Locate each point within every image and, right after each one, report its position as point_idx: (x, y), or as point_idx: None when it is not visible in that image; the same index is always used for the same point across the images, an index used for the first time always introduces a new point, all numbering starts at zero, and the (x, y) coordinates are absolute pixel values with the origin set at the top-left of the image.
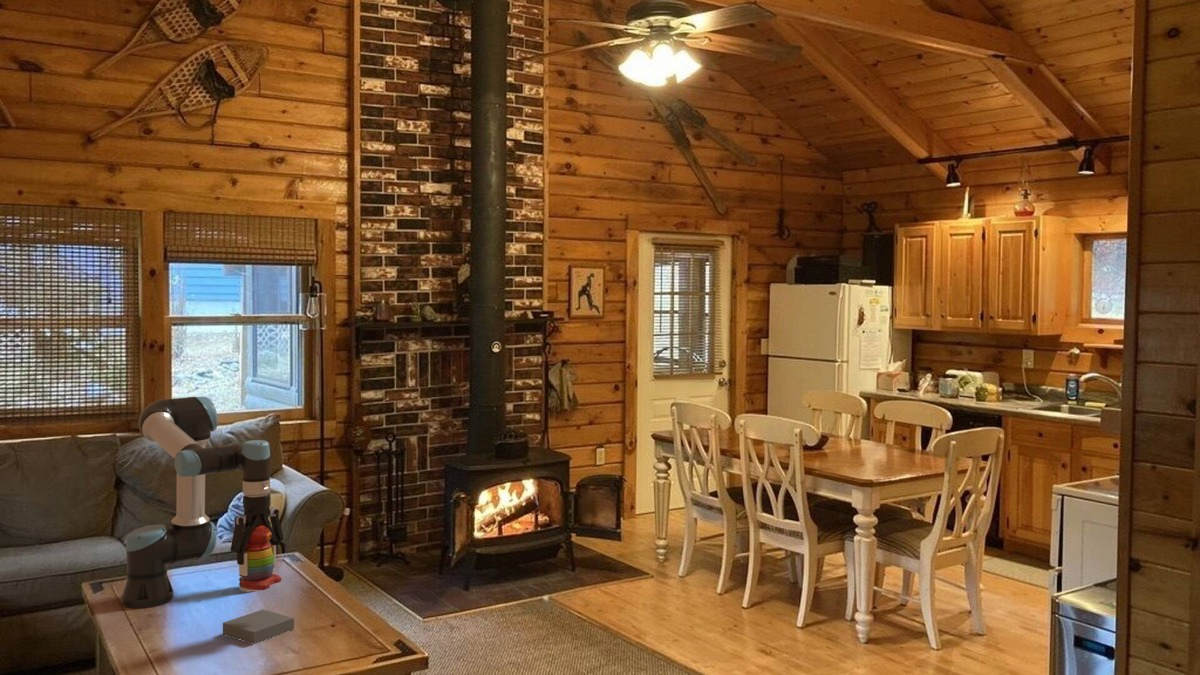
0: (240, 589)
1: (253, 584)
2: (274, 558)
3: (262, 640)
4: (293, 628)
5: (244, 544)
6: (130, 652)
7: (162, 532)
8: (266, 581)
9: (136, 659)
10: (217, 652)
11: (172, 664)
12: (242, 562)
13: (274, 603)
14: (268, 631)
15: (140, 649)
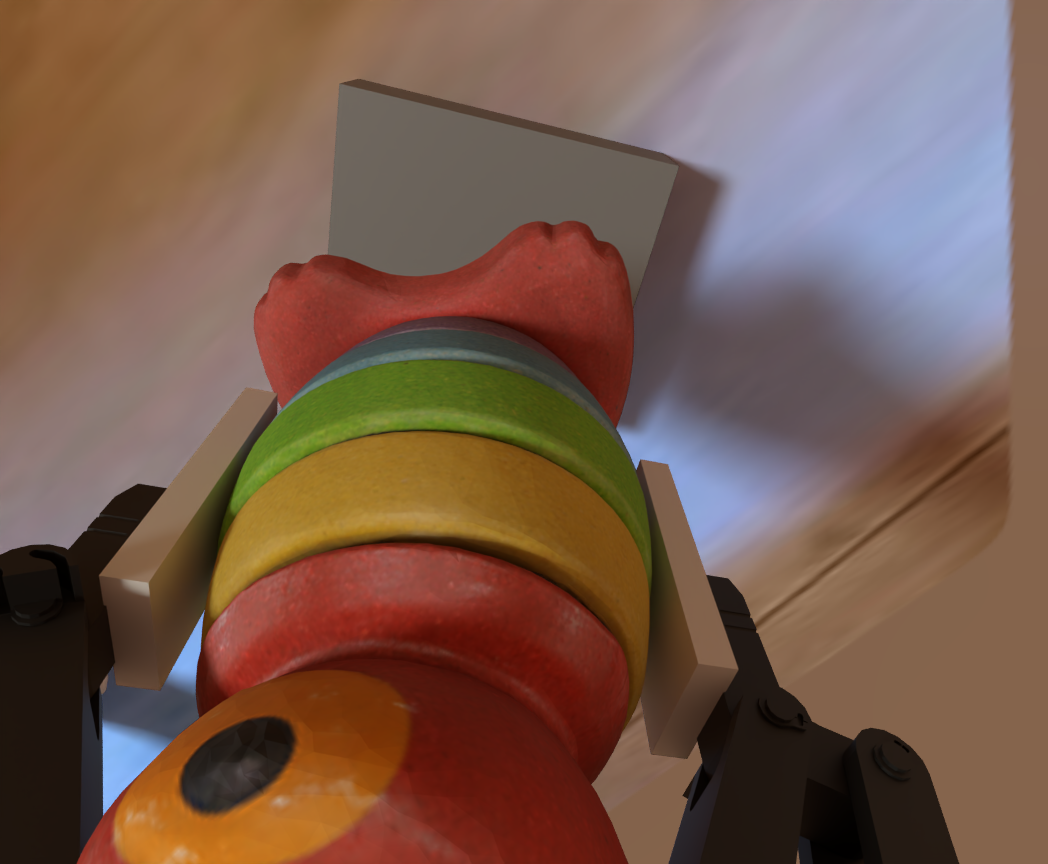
0: (104, 689)
1: (626, 353)
2: (227, 452)
3: (604, 140)
4: (361, 80)
5: (789, 827)
6: (866, 591)
7: None
8: (520, 282)
9: (940, 527)
10: (815, 269)
11: (996, 361)
12: (712, 593)
13: (113, 476)
14: (562, 134)
15: (830, 582)
